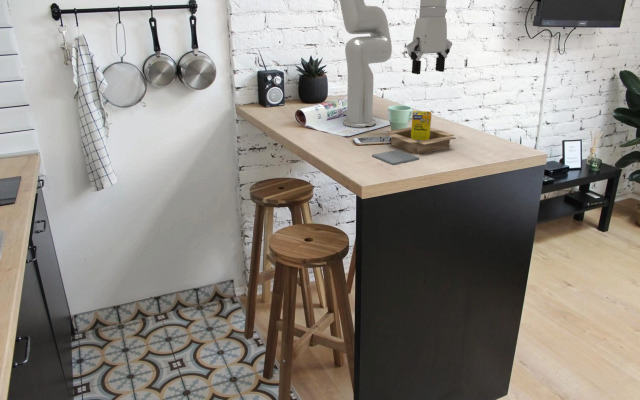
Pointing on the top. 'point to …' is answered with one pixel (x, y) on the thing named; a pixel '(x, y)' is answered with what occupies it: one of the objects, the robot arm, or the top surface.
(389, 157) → the coaster
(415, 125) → the supplement box
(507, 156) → the top surface
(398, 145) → the carton
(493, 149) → the top surface
